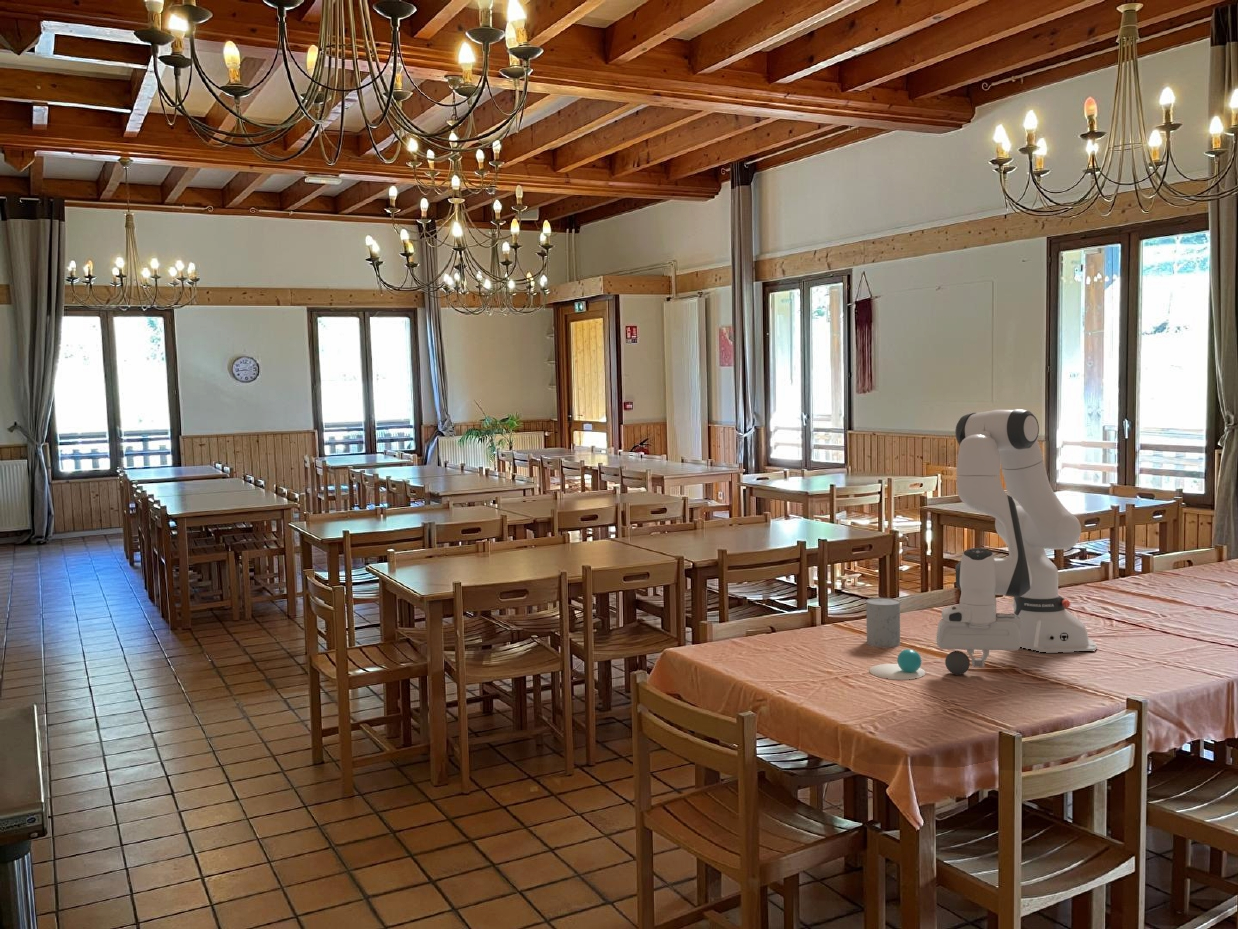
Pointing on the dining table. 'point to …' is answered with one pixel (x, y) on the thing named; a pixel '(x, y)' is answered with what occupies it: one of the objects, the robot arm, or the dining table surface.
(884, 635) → the grey speckled stone cylinder
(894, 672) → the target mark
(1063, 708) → the dining table surface
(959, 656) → the dark grey ball
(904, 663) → the object ball
